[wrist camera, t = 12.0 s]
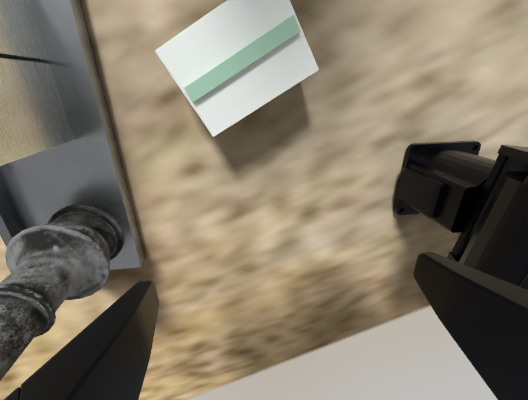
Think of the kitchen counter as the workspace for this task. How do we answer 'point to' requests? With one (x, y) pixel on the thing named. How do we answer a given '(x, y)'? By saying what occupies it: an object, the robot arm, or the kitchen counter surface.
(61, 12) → the rail
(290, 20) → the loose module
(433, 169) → the robot arm
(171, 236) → the kitchen counter surface
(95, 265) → the dark grey tall piece
